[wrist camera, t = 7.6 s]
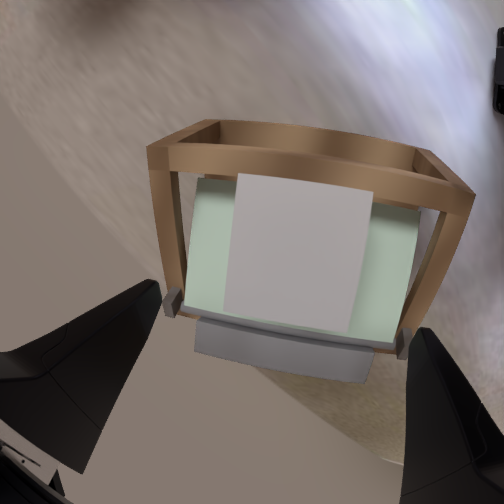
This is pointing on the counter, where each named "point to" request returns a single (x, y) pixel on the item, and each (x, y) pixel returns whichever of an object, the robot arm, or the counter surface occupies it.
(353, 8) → the counter surface
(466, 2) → the counter surface
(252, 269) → the stone
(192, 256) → the trapdoor
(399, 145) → the frame
